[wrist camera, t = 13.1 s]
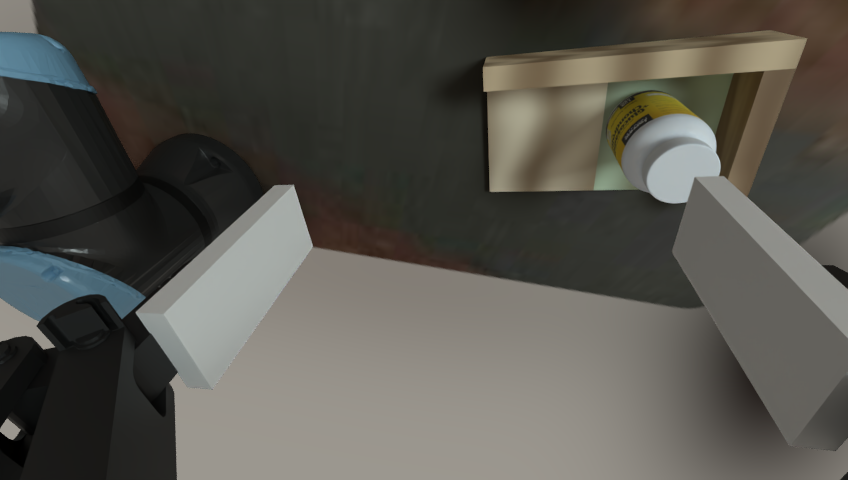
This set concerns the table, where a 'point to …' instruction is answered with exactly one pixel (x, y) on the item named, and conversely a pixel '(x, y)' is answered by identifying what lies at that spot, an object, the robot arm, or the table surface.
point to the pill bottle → (661, 145)
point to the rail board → (615, 81)
